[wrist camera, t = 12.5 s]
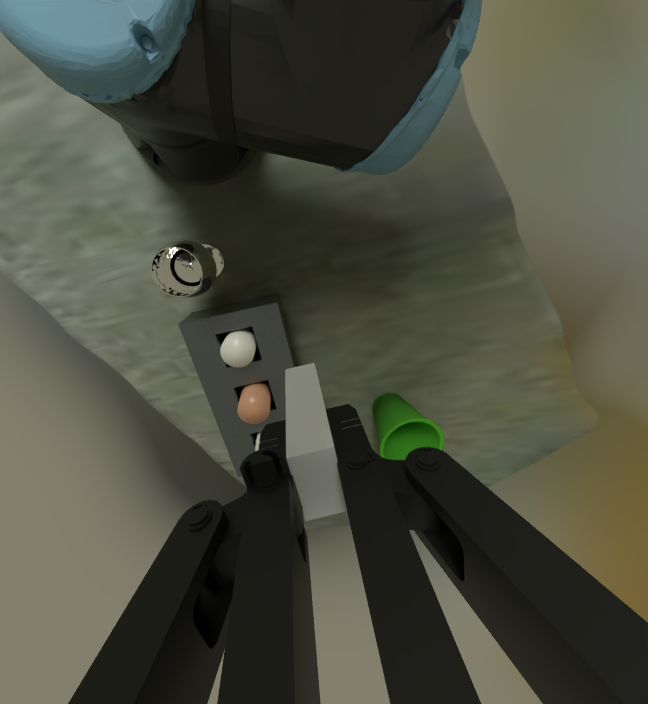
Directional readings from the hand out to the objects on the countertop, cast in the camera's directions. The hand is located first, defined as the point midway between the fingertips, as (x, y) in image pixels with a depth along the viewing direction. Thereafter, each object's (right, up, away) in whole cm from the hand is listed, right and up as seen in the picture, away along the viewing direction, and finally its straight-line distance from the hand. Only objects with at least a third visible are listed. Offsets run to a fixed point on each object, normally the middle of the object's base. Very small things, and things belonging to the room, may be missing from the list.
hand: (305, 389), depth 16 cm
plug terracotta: (-9, -3, +29) cm, 31 cm away
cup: (+11, -7, +36) cm, 38 cm away
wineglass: (-14, +14, +25) cm, 32 cm away
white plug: (-10, +4, +28) cm, 30 cm away
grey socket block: (-9, -2, +31) cm, 33 cm away
